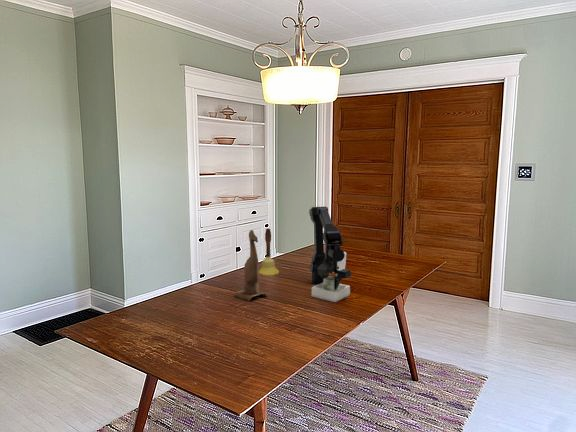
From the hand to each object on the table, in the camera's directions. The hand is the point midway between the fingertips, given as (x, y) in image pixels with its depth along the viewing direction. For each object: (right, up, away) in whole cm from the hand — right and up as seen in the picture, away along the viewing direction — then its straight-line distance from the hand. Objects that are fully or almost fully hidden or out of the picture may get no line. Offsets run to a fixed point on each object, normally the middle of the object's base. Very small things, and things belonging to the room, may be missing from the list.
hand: (330, 288), depth 204 cm
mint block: (0, -1, 0) cm, 1 cm away
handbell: (-31, +2, +40) cm, 51 cm away
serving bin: (0, -3, 0) cm, 4 cm away
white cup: (+9, +3, +46) cm, 47 cm away
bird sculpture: (-38, -4, -1) cm, 38 cm away
